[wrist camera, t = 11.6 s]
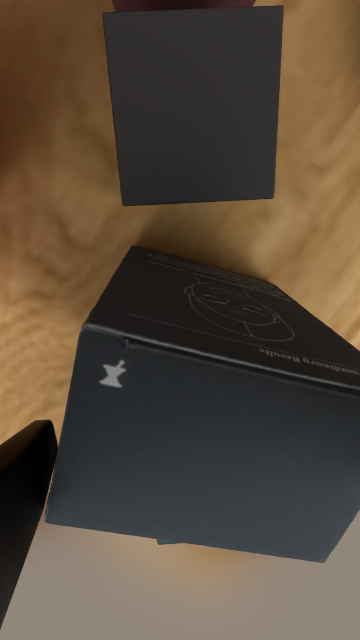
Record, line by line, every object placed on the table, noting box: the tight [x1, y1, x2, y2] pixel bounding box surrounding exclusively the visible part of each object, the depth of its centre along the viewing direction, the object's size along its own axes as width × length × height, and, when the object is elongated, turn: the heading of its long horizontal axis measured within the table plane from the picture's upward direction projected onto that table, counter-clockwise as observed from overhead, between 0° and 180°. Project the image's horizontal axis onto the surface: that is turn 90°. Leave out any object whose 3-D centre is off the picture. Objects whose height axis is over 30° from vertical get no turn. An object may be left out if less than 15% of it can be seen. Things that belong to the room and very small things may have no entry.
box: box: [45, 245, 360, 563], centre depth 12 cm, size 8×6×11 cm
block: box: [102, 5, 284, 206], centre depth 12 cm, size 5×5×5 cm
